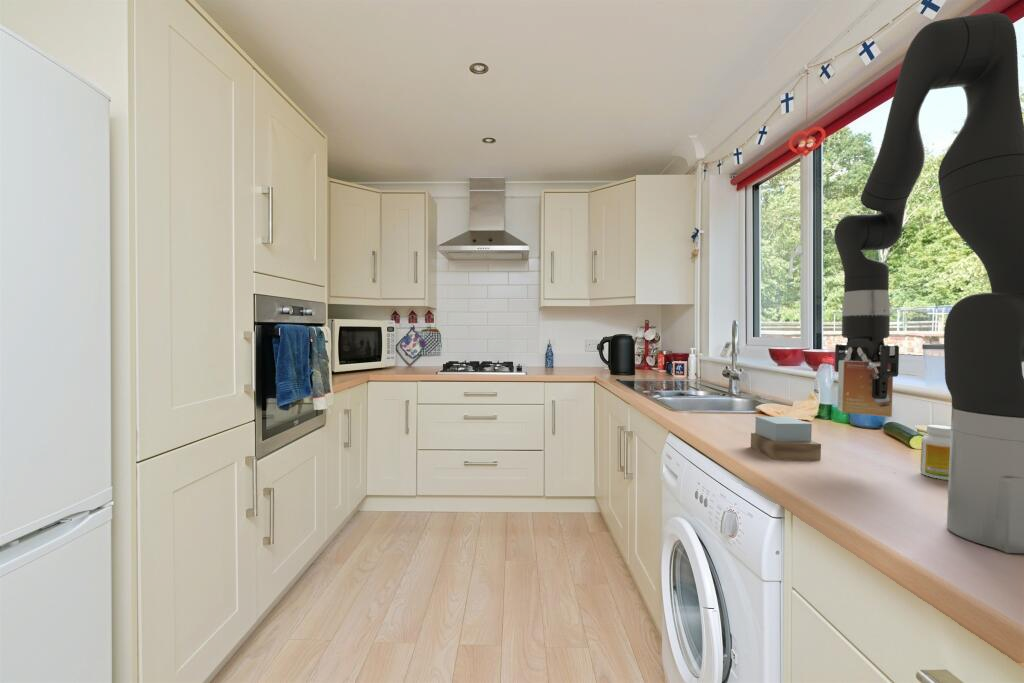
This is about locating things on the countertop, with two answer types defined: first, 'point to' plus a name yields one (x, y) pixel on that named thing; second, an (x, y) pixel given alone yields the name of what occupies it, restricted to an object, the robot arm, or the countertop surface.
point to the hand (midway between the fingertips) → (863, 396)
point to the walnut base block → (786, 448)
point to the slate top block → (783, 429)
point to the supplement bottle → (936, 452)
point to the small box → (861, 390)
